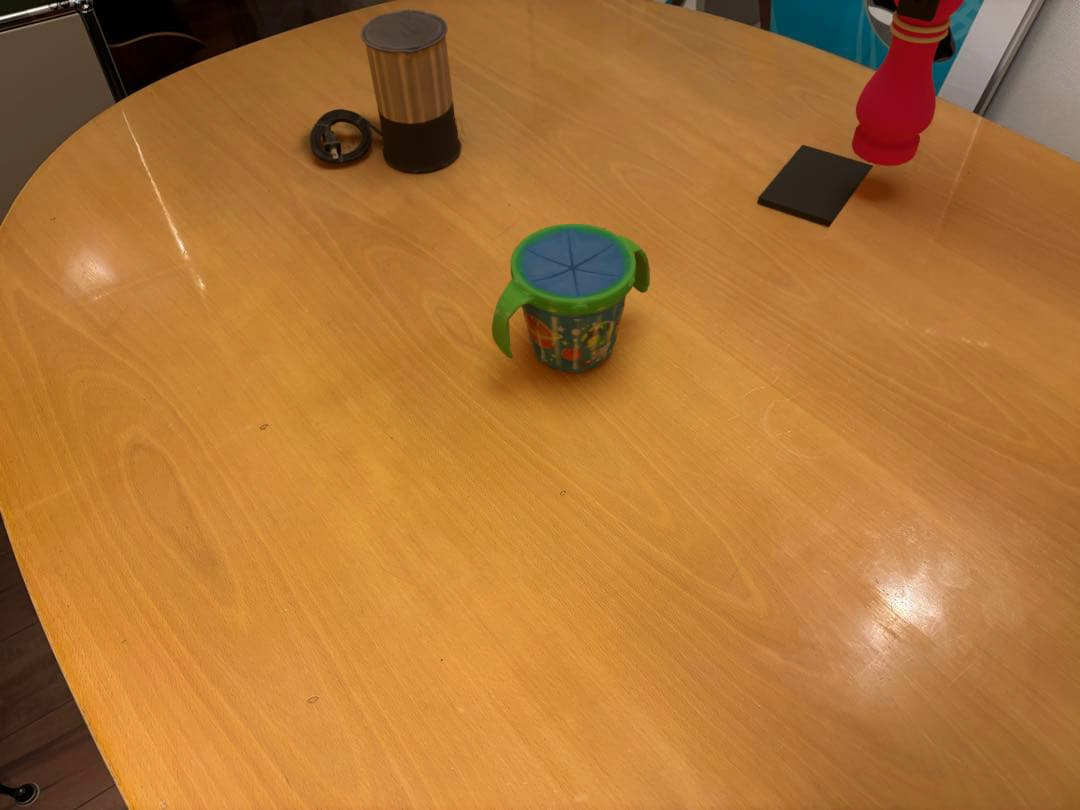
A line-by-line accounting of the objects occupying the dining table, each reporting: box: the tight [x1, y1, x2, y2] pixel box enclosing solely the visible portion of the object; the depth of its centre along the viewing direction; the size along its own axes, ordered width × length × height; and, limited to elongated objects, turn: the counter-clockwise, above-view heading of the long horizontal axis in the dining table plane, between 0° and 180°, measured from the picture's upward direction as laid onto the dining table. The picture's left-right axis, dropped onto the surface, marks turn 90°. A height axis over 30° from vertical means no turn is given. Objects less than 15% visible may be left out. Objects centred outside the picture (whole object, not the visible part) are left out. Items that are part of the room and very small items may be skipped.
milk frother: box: [309, 8, 462, 173], centre depth 97 cm, size 14×16×15 cm
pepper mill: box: [851, 0, 965, 167], centre depth 81 cm, size 7×7×20 cm
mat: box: [757, 144, 874, 228], centre depth 93 cm, size 20×12×1 cm, turn 56°
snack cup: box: [491, 223, 651, 375], centre depth 76 cm, size 16×10×10 cm
